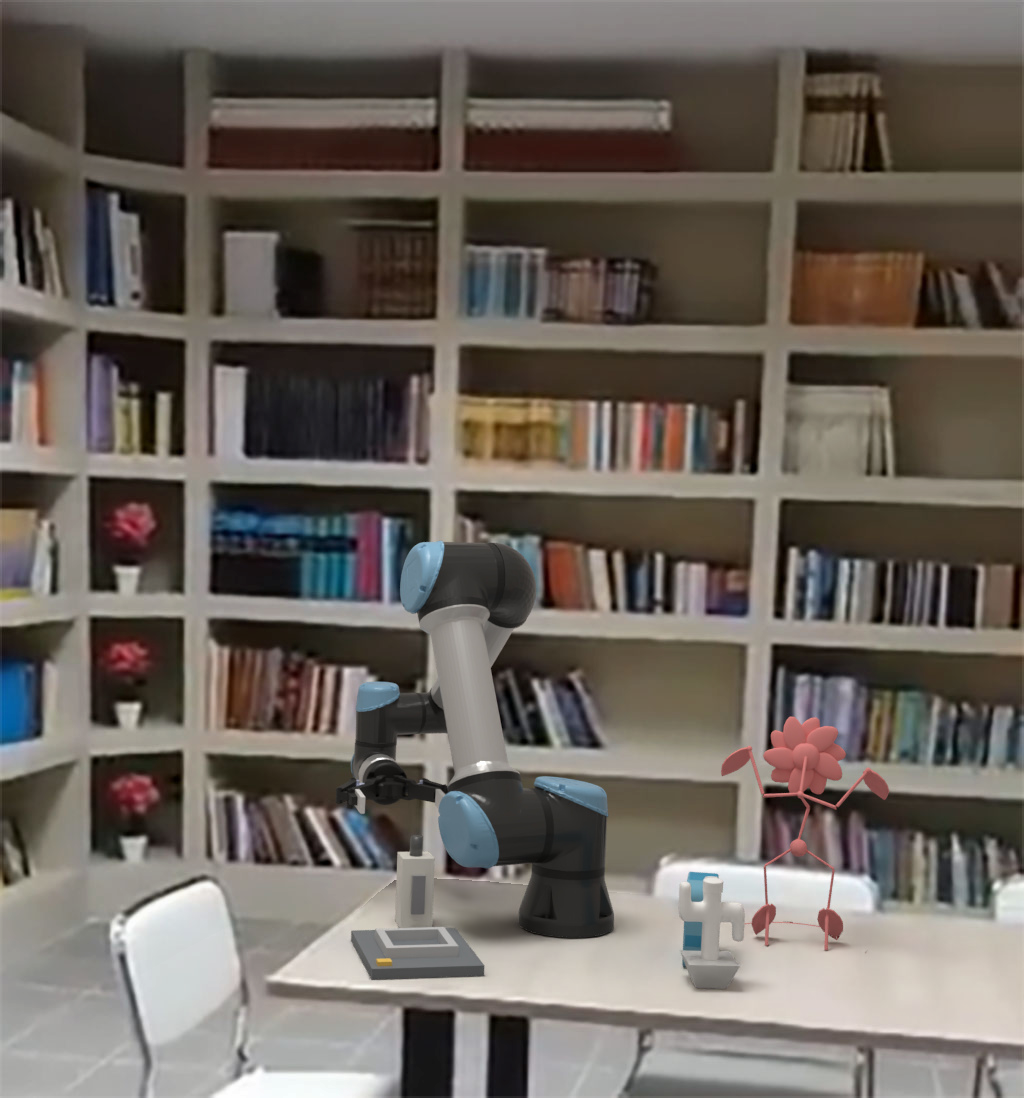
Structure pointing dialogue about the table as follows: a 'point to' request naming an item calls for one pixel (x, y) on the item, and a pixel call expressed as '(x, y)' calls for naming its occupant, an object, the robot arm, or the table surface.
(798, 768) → the pink flower stick figure
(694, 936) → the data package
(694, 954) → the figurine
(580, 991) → the table surface
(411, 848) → the plug
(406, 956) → the dock
